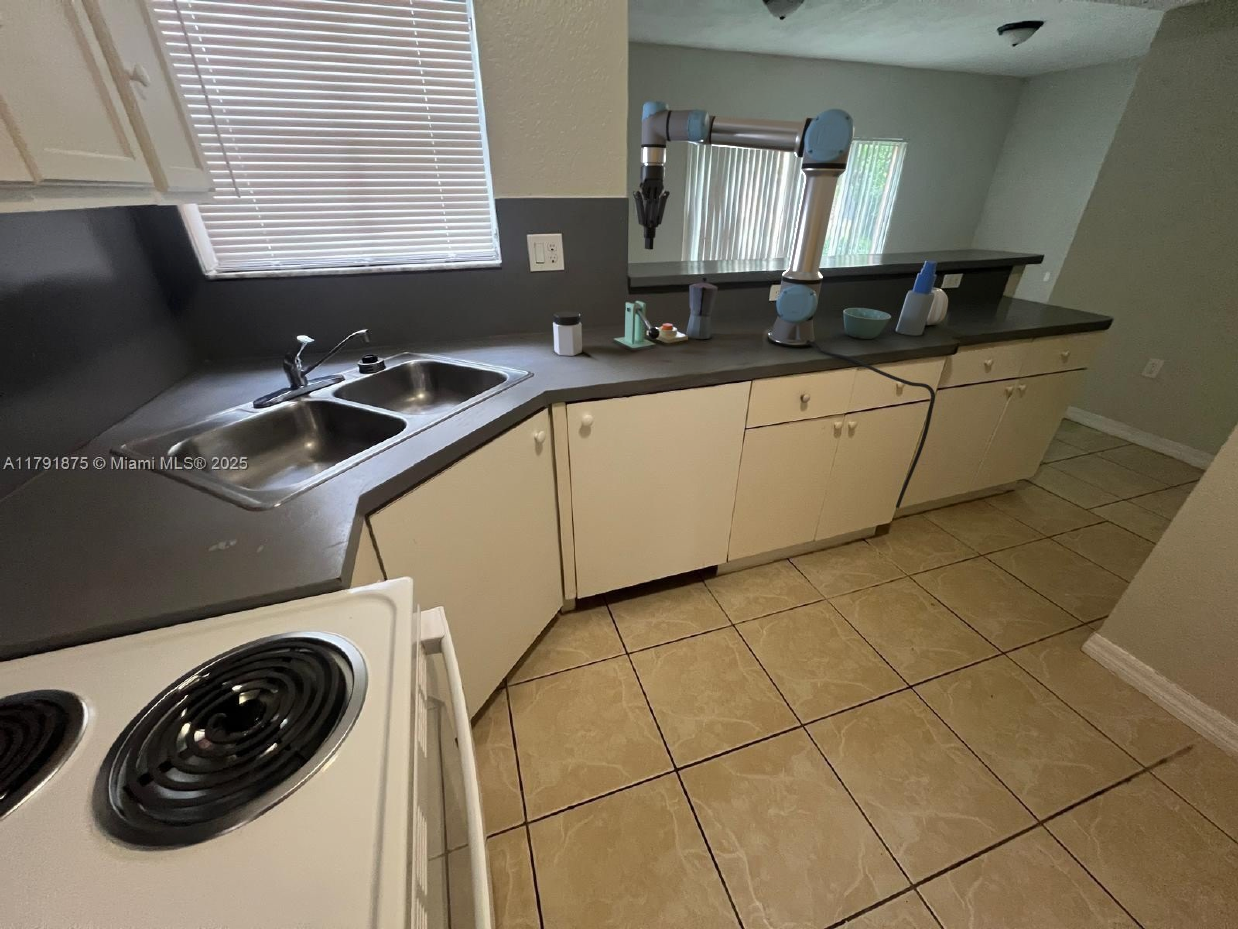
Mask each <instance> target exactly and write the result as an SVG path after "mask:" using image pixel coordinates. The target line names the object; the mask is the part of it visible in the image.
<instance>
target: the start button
mask: <svg viewBox="0 0 1238 929" xmlns="http://www.w3.org/2000/svg"><path fill="white" fill-rule="evenodd" d="M661 327H662V329H663V330H673V327H674V324H673V323H669V322H668V323H667V322H666V323H662V326H661Z"/></svg>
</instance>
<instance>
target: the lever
mask: <svg viewBox="0 0 1238 929" xmlns="http://www.w3.org/2000/svg"><path fill="white" fill-rule="evenodd" d="M631 303H632V304H635V305H636V309H635V314H637V315H638V316H639V317H640V319H641V320H642V322H643V323H644V324H645V328H647V329H648V330H647V331H649V332H648V335H647V336H648V337H649V338H650V339H652V340H657V339H656V338H658V337H659V335H660V331H659V329H658V328H659V327H656V326H654V327H653V326H652V325H651V324H650V322H649V320H648V319H647V318H646V316H645V317H644V315H643V314H642V313H641V307H640V305H639V304H638V303H636V302H631Z"/></svg>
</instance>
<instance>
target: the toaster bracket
mask: <svg viewBox="0 0 1238 929" xmlns="http://www.w3.org/2000/svg"><path fill="white" fill-rule="evenodd" d="M632 303H633V302H629V301H627V302H626V301H625V317H624V336H622V337H615V338H614V340H615V341H617V342H618V343H621V344H623V345H625V346H627V347H629V348H632V349H638V348H643V347H648V346H654V345H656V343H655V342H653V341H649V340H648V339H645V336H646V335H645V333H646V332H645V331H646V326H645V324H644V323H643V322H642V320H641V319H640V317H639V316H638V315H637V314H635V309H636V305H635V304H632ZM635 303H638V304H639V305H640V307H641V313H642V314H643V315H644V317H645V318H646V312H647V311H646V310H647V303H646V302H644V301H641V300H635Z"/></svg>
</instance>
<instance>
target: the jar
mask: <svg viewBox="0 0 1238 929" xmlns="http://www.w3.org/2000/svg"><path fill="white" fill-rule="evenodd" d="M582 324H583V323H581V314H580V313H579V312H578V311H571V310H562V311H557V312H555V313H554V314H553V322H552V328H553V347H554V348H553V349H554V352H555V353H556V354H557V355H559V356H565V357H566V356H569V357H574V356H576V355H579V354H581V353H583V329H582V328H583V327H582V326H583V325H582Z"/></svg>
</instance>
